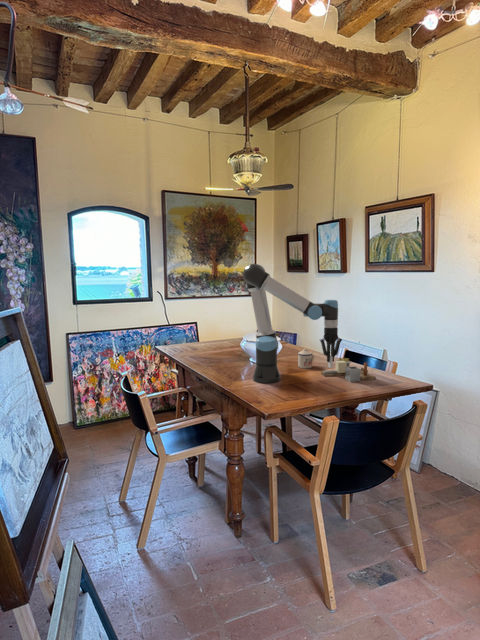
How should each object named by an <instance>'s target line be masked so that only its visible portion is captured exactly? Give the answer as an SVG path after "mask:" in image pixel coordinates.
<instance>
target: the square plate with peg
mask: <svg viewBox="0 0 480 640" xmlns="http://www.w3.org/2000/svg"><path fill="white" fill-rule="evenodd" d="M363 368H364V373H362V374H361V376H360V381H371V380H372V381H373V380H376V379H377V378H376V376H374V375H373V374H371V373H370V372H368V373H367V370H368V362H364V363H363Z"/></svg>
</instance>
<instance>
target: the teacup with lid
mask: <svg viewBox="0 0 480 640" xmlns="http://www.w3.org/2000/svg"><path fill="white" fill-rule="evenodd" d="M297 355H298V356H297V357H298V358H297V359H298V360H297V367H298V368H300V369H311V368H313V362H314V359H315V355H314V354H313V352H311V351H309V350H308V349H307V348H303V350H301V351H299V352H298V353H297Z"/></svg>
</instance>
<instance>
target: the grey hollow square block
mask: <svg viewBox="0 0 480 640" xmlns="http://www.w3.org/2000/svg"><path fill="white" fill-rule="evenodd" d="M360 376H361V367H358V366H355V365H354V366H349V367H345V376H344V378H345V380H346V381H347V380H348V382H349V383H353V382H354V383H357V382H356V381H359V382H361V379H360Z"/></svg>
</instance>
